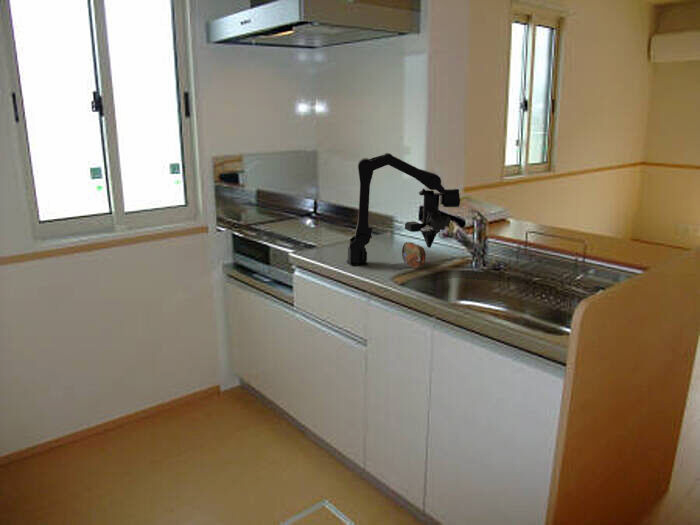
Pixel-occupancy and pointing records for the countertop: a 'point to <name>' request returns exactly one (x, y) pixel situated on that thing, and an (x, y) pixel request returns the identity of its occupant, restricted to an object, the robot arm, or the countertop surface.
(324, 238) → the countertop surface
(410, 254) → the tin
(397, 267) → the drying mat
